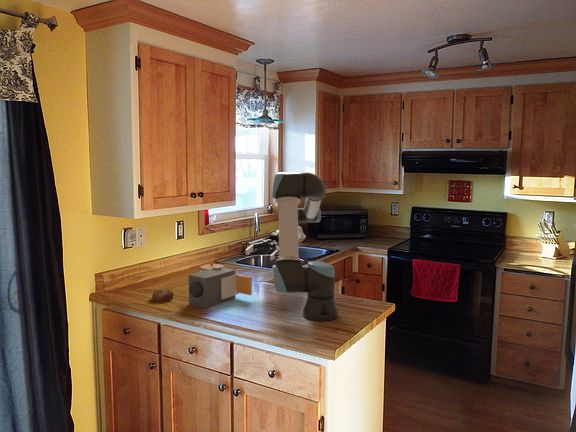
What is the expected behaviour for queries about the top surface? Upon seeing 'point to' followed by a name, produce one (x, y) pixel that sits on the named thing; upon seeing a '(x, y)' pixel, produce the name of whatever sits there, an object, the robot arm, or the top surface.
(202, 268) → the lidded bowl
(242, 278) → the door
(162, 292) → the bread roll
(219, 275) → the box
